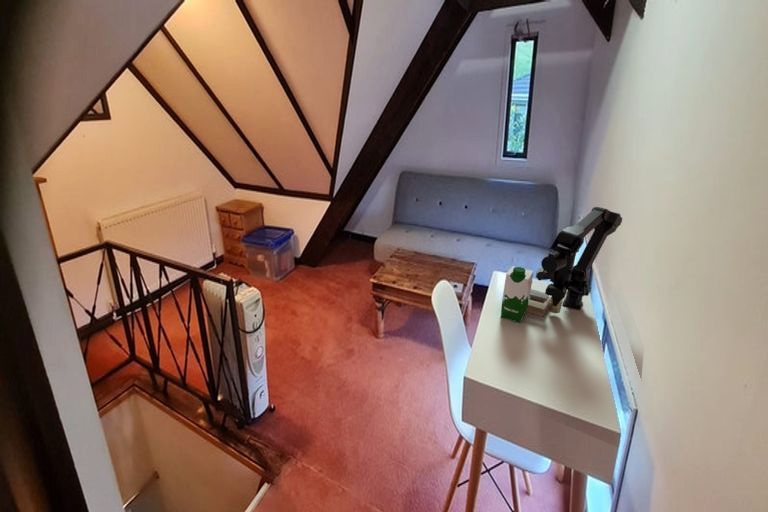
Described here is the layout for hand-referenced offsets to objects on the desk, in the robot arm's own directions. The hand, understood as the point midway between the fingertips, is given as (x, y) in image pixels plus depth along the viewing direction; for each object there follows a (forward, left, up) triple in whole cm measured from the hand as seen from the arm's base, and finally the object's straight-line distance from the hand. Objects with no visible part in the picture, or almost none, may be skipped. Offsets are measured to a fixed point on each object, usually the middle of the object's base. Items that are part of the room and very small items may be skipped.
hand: (555, 303), depth 144 cm
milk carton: (+9, -12, -5) cm, 16 cm away
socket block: (-2, -7, -5) cm, 9 cm away
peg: (0, 0, -3) cm, 3 cm away
